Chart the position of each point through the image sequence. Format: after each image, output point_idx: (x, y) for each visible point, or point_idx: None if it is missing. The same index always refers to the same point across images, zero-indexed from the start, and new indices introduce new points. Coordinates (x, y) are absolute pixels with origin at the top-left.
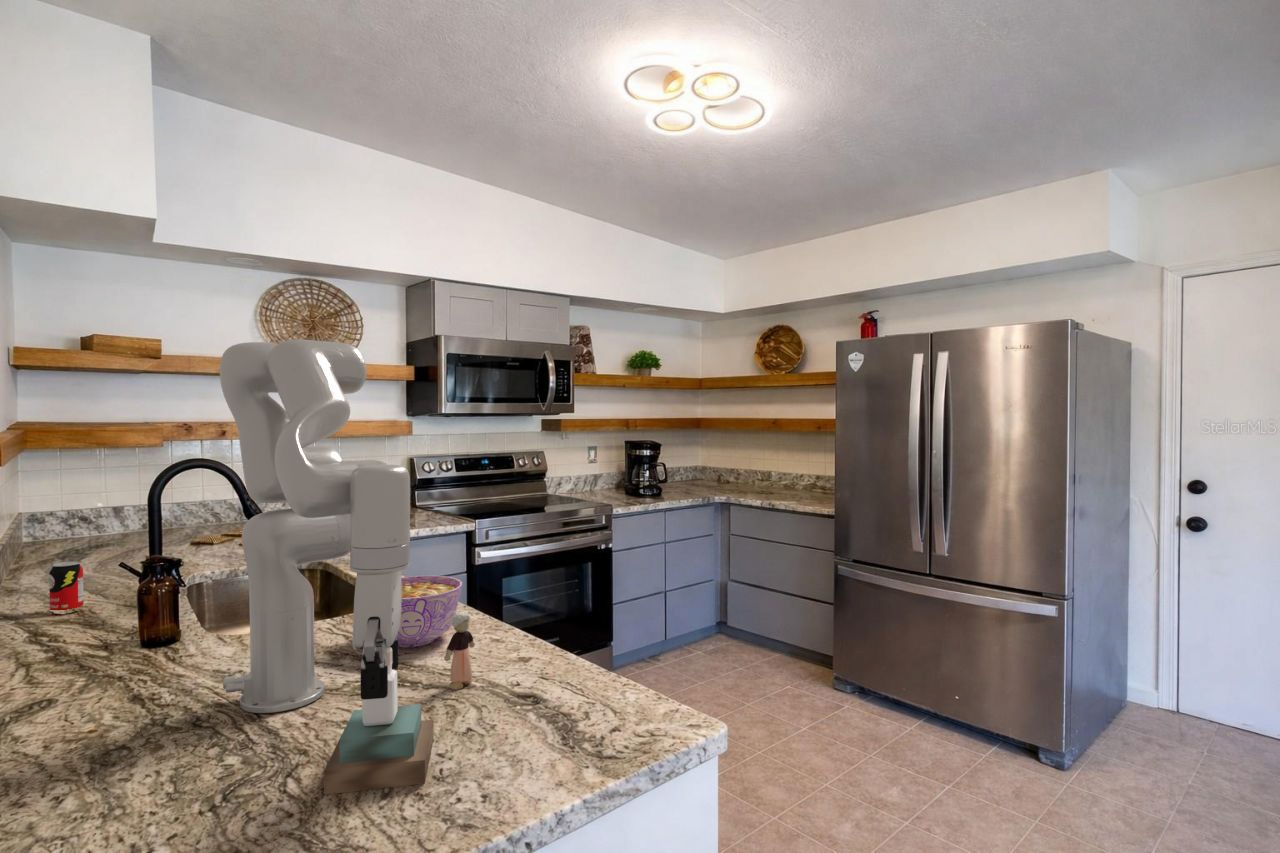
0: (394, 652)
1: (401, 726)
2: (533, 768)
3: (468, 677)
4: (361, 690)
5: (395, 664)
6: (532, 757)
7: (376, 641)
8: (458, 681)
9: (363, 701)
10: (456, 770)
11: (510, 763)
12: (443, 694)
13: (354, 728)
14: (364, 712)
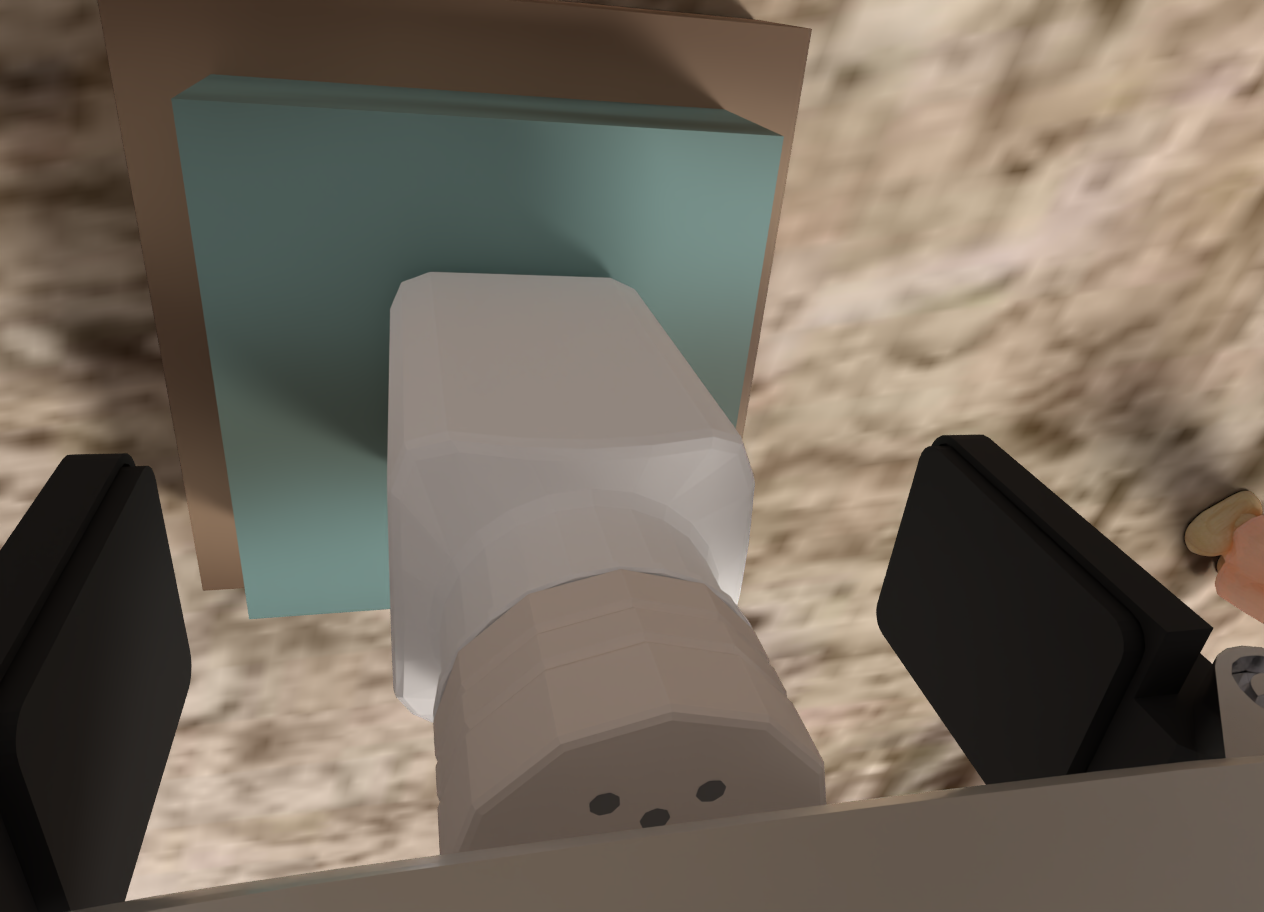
0: (968, 729)
1: (366, 532)
2: (306, 872)
3: (1228, 595)
4: (35, 513)
5: (898, 639)
6: (402, 859)
7: (1200, 649)
8: (1232, 548)
9: (400, 358)
10: (341, 626)
11: (366, 801)
12: (1172, 476)
13: (397, 199)
14: (397, 326)
